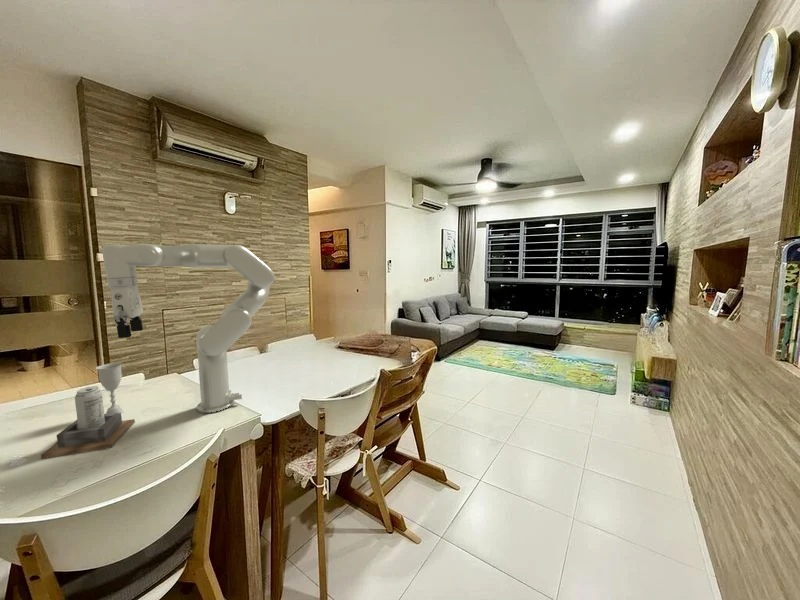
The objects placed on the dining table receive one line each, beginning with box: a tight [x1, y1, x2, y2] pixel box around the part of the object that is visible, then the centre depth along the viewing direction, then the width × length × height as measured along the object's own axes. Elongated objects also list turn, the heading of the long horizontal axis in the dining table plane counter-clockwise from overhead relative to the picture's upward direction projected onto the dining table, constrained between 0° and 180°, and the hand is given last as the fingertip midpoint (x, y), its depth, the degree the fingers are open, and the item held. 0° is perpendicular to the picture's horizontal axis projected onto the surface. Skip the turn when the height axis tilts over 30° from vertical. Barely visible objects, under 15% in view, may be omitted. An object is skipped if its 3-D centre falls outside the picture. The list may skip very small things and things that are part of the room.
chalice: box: [95, 362, 124, 415], centre depth 116 cm, size 7×7×18 cm
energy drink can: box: [74, 385, 105, 430], centre depth 99 cm, size 6×6×15 cm
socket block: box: [40, 413, 136, 459], centre depth 100 cm, size 16×16×5 cm
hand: (131, 333), depth 107 cm, fingers open, 9 cm apart
